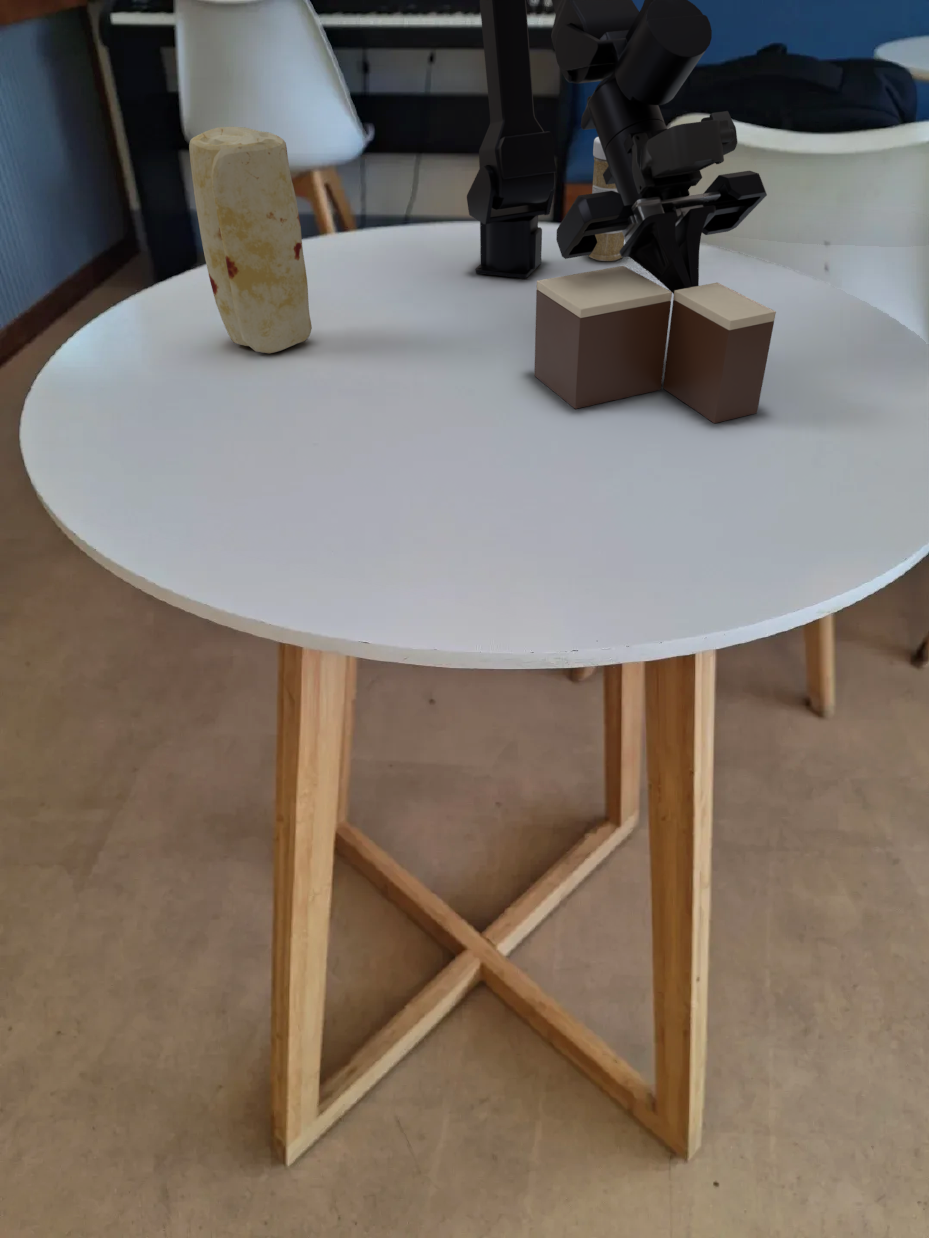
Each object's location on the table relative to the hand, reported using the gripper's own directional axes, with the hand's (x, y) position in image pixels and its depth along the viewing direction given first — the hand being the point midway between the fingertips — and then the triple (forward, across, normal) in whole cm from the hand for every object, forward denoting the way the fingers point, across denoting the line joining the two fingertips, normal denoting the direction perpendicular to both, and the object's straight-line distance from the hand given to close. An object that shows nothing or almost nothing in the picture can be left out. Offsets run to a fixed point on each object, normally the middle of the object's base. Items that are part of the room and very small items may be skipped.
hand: (692, 301), depth 82 cm
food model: (-14, -32, +24) cm, 43 cm away
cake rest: (+3, -7, +8) cm, 11 cm away
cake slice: (+8, 0, +2) cm, 9 cm away
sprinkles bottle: (-20, +13, +30) cm, 38 cm away
